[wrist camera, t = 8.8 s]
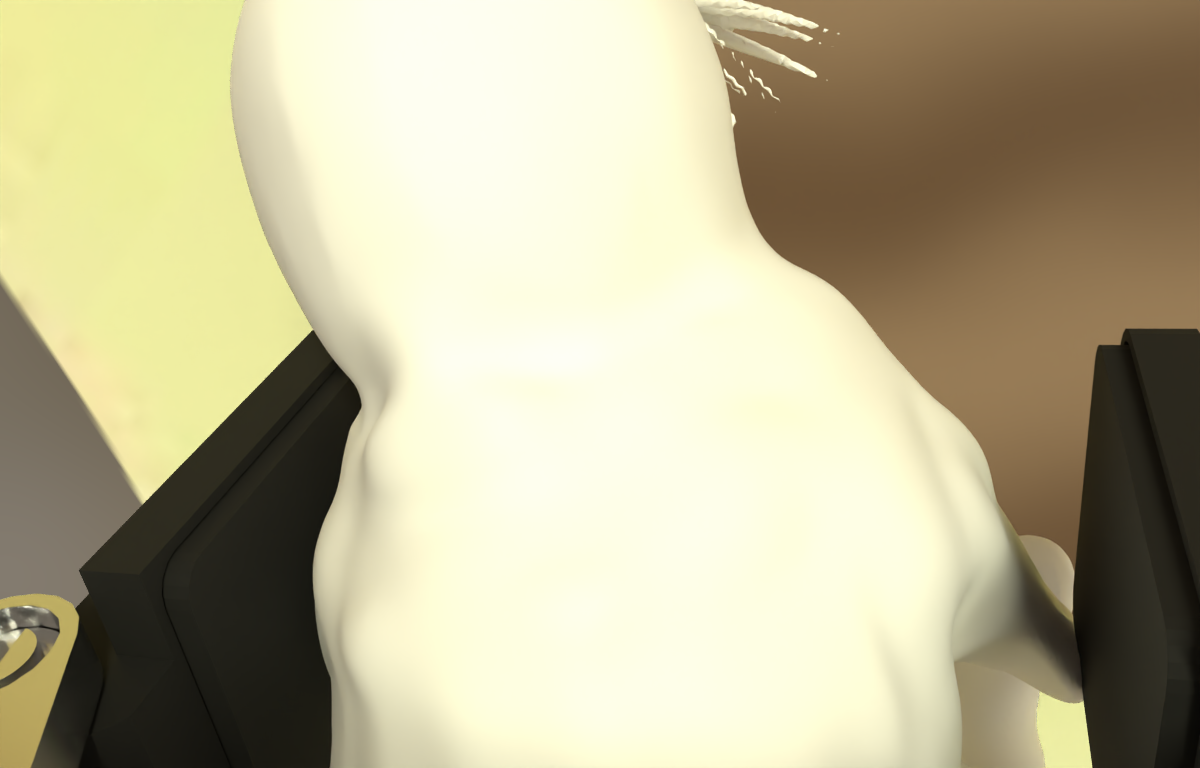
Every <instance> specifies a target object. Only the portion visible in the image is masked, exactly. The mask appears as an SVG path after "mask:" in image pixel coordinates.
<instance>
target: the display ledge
mask: <svg viewBox="0 0 1200 768" xmlns="http://www.w3.org/2000/svg"><path fill="white" fill-rule="evenodd" d="M743 1H748V2H752V3H754V4H759V5H762V6H764V7H770V8H772V9H774V10H779V11H782V12H785V13H788V14H792V15H793V16H795V17H798V18H803V19H805V20H808V21H811V22H813V23H815V24H817V25H818V27H817V28H814V29H810V28H807V27H805V26H801V27H798V26H795V25H793V24H783V23H781V22H772V23H776V24H778V25H780V26H784V27H787V28H789V29H790V30H793V31H797V32H799V33H802V34H805V35H807V36H809V37H811V38H813V39H812V40H810V41H808V42H806V41H804V40H802V39H801V38H797V39H793V38H790V37H788V36H784V37H783V36H779V35H777V34H768V33H766V32H757V31H749V30H740V29H734V30H733V31H732V32H734V33H736V34H738V35H741V36H743V37H745V38H748V39H750V40H752V41H755V42H757V43H759V44H760V45H762V46H765V47H768V48H770V49H772V50H774V51H775V52H777V53H780V54H782V55H785V56H786V57H788V58H789V59H791V61H794V62H797V63H799V64H801V65H803V66H804V67H806V68H808V69H810V70H811V71H814V72H815V74H816V75H817V77H815V78H814V77H811V76H808V75H806V74H804V73H802V72H797V71H793V70H791V69H788V68H786V67H785V66H781V65H778V64H775V63H771V62H768V61H766V60H763V59H760V58H757V57H754V56H751V55H748V54H745V53H742V52H739V51H737V50H733V49H730V48H727V47H725V46H723V48H722V47H721V45H720V44H716V43H713V45H714V47H715V50H716V53H717V55H718V58H719V61H720V64H721V67H722V71H723V74H724V78H725V80H726V81H728V82H730V83H731V84H732V87H733V88H734V89H737V90H739V91H740V94H739V93H738V92H737V91H735V90H734V89H732V87H731V85H730V84H729V83H727V82H726V86H727V91H728V96H729V102H730V109H731V113H732V114H734V116H735V120H736V123H735V124H734V126H733V134H734V142H735V149H736V157H737V163H738V168H739V173H740V178H741V183H742V187H743V192H744V195H745V199H746V202H747V206H748V208H749V211H750V213H751V216H752V218H753V220H754V222H755V224H756V226H757V228H758V230H759V232H760V234H761V235H762V237H763V238H764V239H765V241H766V242H767V243H768V244H769V246H770V247H771V248H772V249H773V250H774V251H775V252H776V253H778V254H779V255H780V256H781V257H782V258H784V259H785V260H787V261H788V262H790V263H792V264H794V265H796V266H798V267H800V268H802V269H804V270H806V271H808V272H810V273H812V274H814V275H816V276H818V277H819V278H821V279H823V280H824V281H826V282H827V283H829V284H830V285H831V286H833V287H834V288H835V289H837V290H838V291H839V292H840V293H841V294H842V295H843V296H844V297H845V298H846V299H847V300H848V301H849V302H850V303H851V304H852V305H853V306H854V307H855V308H856V309H857V310H858V312H859V313H860V314H861V315H862V316H863V317H864V319H865V320H866V321H867V323H868V324H869V325H870V326H871V328H872V329H873V330H874V332H875V333H876V334H877V336H878V337H879V338H880V340H881V341H882V342H883V343H884V345H885V346H886V347H887V348H888V349H889V351H890V352H891V353H892V354H893V355H894V356H895V357H896V359H897V360H898V361H899V362H900V363H901V364H902V365H903V366H904V367H905V369H906V370H907V371H908V372H909V373H910V374H911V375H912V376H913V377H914V379H915V380H916V381H917V382H918V383H919V384H920V385H921V386H922V387H923V388H924V389H925V390H926V391H927V392H928V393H929V394H930V395H931V396H932V397H933V398H934V399H936V400H937V401H938V402H939V403H940V404H942V405H943V406H944V407H945V408H947V409H948V410H949V411H950V412H951V413H952V414H954V415H955V416H956V417H957V418H958V419H959V420H960V421H961V422H962V423H963V424H964V425H965V426H966V428H967V429H968V430H969V431H970V432H971V434H972V435H973V436H974V438H975V439H976V441H977V442H978V444H979V445H980V447H981V449H982V451H983V453H984V455H985V458H986V460H987V463H988V466H989V470H990V474H991V478H992V482H993V487H994V492H995V496H996V500H997V503H998V504H999V506H1000V507H1001V509H1002V510H1003V512H1004V513H1005V515H1006V516H1007V518H1008V520H1009V521H1010V523H1011V524H1012V526H1013V528H1014V529H1015V531H1016V533H1017V535H1018V536H1022V535H1034V536H1039V537H1043V538H1046V539H1048V540H1051V541H1052V542H1054V543H1056V544H1057V545H1058V546H1060V547H1061V548H1062V549H1063V551H1064V552H1065V553H1066V554H1067V556H1068V557H1069V559H1070V561H1071V563H1072V566H1073V569H1074V573H1075V563H1076V552H1077V542H1078V531H1079V521H1080V511H1081V500H1082V490H1083V479H1084V469H1085V459H1086V448H1087V438H1088V427H1089V417H1090V406H1091V396H1092V386H1093V375H1094V365H1095V357H1096V351H1097V347H1098V345H1121V339H1122V335H1123V332H1124V330H1125V329H1198V331H1199V332H1200V0H743ZM767 21H768V20H767ZM769 22H771V21H769ZM824 29H828V31H827V32H826V33H825V32H823V30H824ZM837 33H840V34H839V35H838V34H837ZM819 42H821V44H819ZM732 52H734V58H735V59H734V58H733V55H732ZM741 61H742V62H743V66H744V68H743V66H742V64H741ZM724 69H725V70H726V72H727V73H728V75H730V76H732V77H734V78H735V80H736V82H737V84H739V85H740V86H742V87H743V88H744V90H745V92H746V96H745V95H744V93H743V91H742V89H741V88H738V87H736V86H735V85H734V83H733V81H732V80H731V79H729V78H727V77H726V75H725V73H724ZM750 69H751V70H752V72H753V76H754V78H760V79H761V80H762V83H763V87H768V88H770V89H771V91H772V96H774V97H776V98H778V99H779V100H780V101H779V100H778V99H776V98H774V97H772V96H771V94H770V93H769V92H768V91H767V90H766V89H765V88H763V87H762V86H761V84H760V83H759V82H758V81H757V80H756V79H754V78H753V77H752V75H751V74H750ZM749 77H750V78H751V80H752V82H750V80H749ZM762 93H763V95H764V98H763V96H762ZM1072 615H1073V610H1072Z"/></svg>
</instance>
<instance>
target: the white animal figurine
mask: <svg viewBox="0 0 1200 768" xmlns="http://www.w3.org/2000/svg"><path fill="white" fill-rule="evenodd" d="M767 20H768V21H767ZM769 21H771V22H769ZM772 22H781V23H783V24H793V25H795V26H798V27H801V26H805V27H807V28H810V29H814V28H817V27H818V25H817V24H815V23H813V22H811V21H808V20H805V19H803V18H798V17H795V16H793V15H792V14H788V13H785V12H782V11H779V10H774V9H772V8H770V7H764V6H762V5H759V4H754V3H752V2H748V1H743V0H245V1H244V4H243V7H242V10H241V14H240V17H239V21H238V26H237V30H236V35H235V41H234V47H233V54H232V63H231V77H230V94H231V107H232V115H233V122H234V129H235V134H236V139H237V144H238V149H239V153H240V157H241V162H242V166H243V169H244V173H245V176H246V180H247V183H248V187H249V190H250V193H251V196H252V200H253V203H254V206H255V209H256V212H257V215H258V218H259V221H260V223H261V226H262V229H263V231H264V234H265V236H266V239H267V241H268V243H269V246H270V248H271V250H272V252H273V255H274V257H275V259H276V261H277V263H278V265H279V267H280V270H281V272H282V274H283V276H284V278H285V279H286V281H287V283H288V285H289V287H290V289H291V290H292V292H293V294H294V296H295V298H296V300H297V302H298V304H299V305H300V307H301V309H302V311H303V313H304V314H305V316H306V318H307V320H308V321H309V323H310V325H311V326H312V328H313V330H314V331H315V333H316V335H317V336H318V338H319V339H320V341H321V342H322V344H323V346H324V347H325V348H326V350H327V351H328V353H329V354H330V356H331V357H332V358H333V360H334V361H335V362H336V363H337V364H338V366H339V367H340V368H341V369H342V370H343V371H344V372H345V374H346V375H347V376H348V377H349V378H350V379H351V381H352V382H353V383H354V385H355V386H356V388H357V390H358V392H359V395H360V398H361V403H362V407H361V410H360V412H359V414H358V415H357V417H356V419H355V420H354V422H353V424H352V426H351V428H350V431H349V434H348V438H347V442H346V446H345V451H344V456H343V461H342V467H341V474H340V479H339V483H338V487H337V491H336V494H335V497H334V499H333V502H332V504H331V506H330V509H329V511H328V513H327V515H326V517H325V520H324V522H323V525H322V528H321V531H320V534H319V537H318V540H317V544H316V548H315V553H314V561H313V592H314V600H315V615H316V623H317V630H318V636H319V641H320V646H321V650H322V654H323V658H324V661H325V664H326V667H327V670H328V672H329V675H330V677H331V690H332V747H331V762H330V768H1046V767H1045V758H1044V754H1043V750H1042V747H1041V744H1040V740H1039V736H1038V732H1037V707H1038V699H1039V692H1040V691H1041V692H1043V693H1045V694H1047V695H1049V696H1051V697H1053V698H1055V699H1058V700H1060V701H1063V702H1067V703H1080V702H1082V701H1084V699H1083V692H1082V673H1081V665H1080V655H1079V653H1078V648H1077V641H1076V636H1075V632H1074V623H1073V615H1072V610H1073V584H1074V569H1073V566H1072V563H1071V561H1070V559H1069V557H1068V556H1067V554H1066V553H1065V552H1064V551H1063V549H1062V548H1061V547H1060V546H1058V545H1057V544H1056V543H1054V542H1052V541H1051V540H1048V539H1046V538H1043V537H1039V536H1034V535H1022V536H1018V535H1017V533H1016V531H1015V529H1014V528H1013V526H1012V524H1011V523H1010V521H1009V520H1008V518H1007V516H1006V515H1005V513H1004V512H1003V510H1002V509H1001V507H1000V506H999V504H998V503H997V500H996V496H995V492H994V487H993V482H992V478H991V474H990V470H989V466H988V463H987V460H986V458H985V455H984V453H983V451H982V449H981V447H980V445H979V444H978V442H977V441H976V439H975V438H974V436H973V435H972V434H971V432H970V431H969V430H968V429H967V428H966V426H965V425H964V424H963V423H962V422H961V421H960V420H959V419H958V418H957V417H956V416H955V415H954V414H952V413H951V412H950V411H949V410H948V409H947V408H945V407H944V406H943V405H942V404H940V403H939V402H938V401H937V400H936V399H934V398H933V397H932V396H931V395H930V394H929V393H928V392H927V391H926V390H925V389H924V388H923V387H922V386H921V385H920V384H919V383H918V382H917V381H916V380H915V379H914V377H913V376H912V375H911V374H910V373H909V372H908V371H907V370H906V369H905V367H904V366H903V365H902V364H901V363H900V362H899V361H898V360H897V359H896V357H895V356H894V355H893V354H892V353H891V352H890V351H889V349H888V348H887V347H886V346H885V345H884V343H883V342H882V341H881V340H880V338H879V337H878V336H877V334H876V333H875V332H874V330H873V329H872V328H871V326H870V325H869V324H868V323H867V321H866V320H865V319H864V317H863V316H862V315H861V314H860V313H859V312H858V310H857V309H856V308H855V307H854V306H853V305H852V304H851V303H850V302H849V301H848V300H847V299H846V298H845V297H844V296H843V295H842V294H841V293H840V292H839V291H838V290H837V289H835V288H834V287H833V286H831V285H830V284H829V283H827V282H826V281H824V280H823V279H821V278H819V277H818V276H816V275H814V274H812V273H810V272H808V271H806V270H804V269H802V268H800V267H798V266H796V265H794V264H792V263H790V262H788V261H787V260H785V259H784V258H782V257H781V256H780V255H779V254H778V253H776V252H775V251H774V250H773V249H772V248H771V247H770V246H769V244H768V243H767V242H766V241H765V239H764V238H763V237H762V235H761V234H760V232H759V230H758V228H757V226H756V224H755V222H754V220H753V218H752V216H751V213H750V211H749V208H748V206H747V202H746V199H745V195H744V192H743V187H742V183H741V178H740V173H739V168H738V163H737V157H736V149H735V142H734V134H733V126H734V124H735V123H736V120H735V116H734V114H732V113H731V109H730V102H729V96H728V91H727V86H726V82H727V83H729V84H730V85H731V87H732V84H731V83H730V82H728V81H726V80H725V78H724V74H723V71H722V67H721V64H720V61H719V58H718V55H717V53H716V50H715V47H714V45H713V43H716V44H720V45H721V47H722V48H723V46H725V47H727V48H730V49H733V50H737V51H739V52H742V53H745V54H748V55H751V56H754V57H757V58H760V59H763V60H766V61H768V62H771V63H775V64H778V65H781V66H785V67H786V68H788V69H791V70H793V71H797V72H802V73H804V74H806V75H808V76H811V77H814V78H815V77H817V75H816V74H815V72H814V71H811V70H810V69H808V68H806V67H804V66H803V65H801V64H799V63H797V62H794V61H791V59H789V58H788V57H786V56H785V55H782V54H780V53H777V52H775V51H774V50H772V49H770V48H768V47H765V46H762V45H760V44H759V43H757V42H755V41H752V40H750V39H748V38H745V37H743V36H741V35H738V34H736V33H734V32H732V31H733V30H734V29H740V30H749V31H757V32H766V33H768V34H777V35H779V36H783V37H784V36H788V37H790V38H793V39H797V38H801V39H802V40H804V41H806V42H808V41H810V40H812V39H813V38H811V37H809V36H807V35H805V34H802V33H799V32H797V31H793V30H790V29H789V28H787V27H784V26H780V25H778V24H776V23H772ZM827 31H828V29H824V30H823V32H825V33H826V32H827ZM837 34H838V35H839V34H840V33H837ZM819 44H821V42H819ZM732 55H733V58H734V52H732ZM734 59H735V58H734ZM741 64H742V66H743V62H742V61H741ZM743 68H744V66H743ZM724 73H725V75H726V77H727V78H729V79H731V80H732V81H733V83H734V85H735V86H736V87H738V88H741V89H742V91H743V93H744V95H745V96H746V92H745V90H744V88H743V87H742V86H740V85H739V84H737V82H736V80H735V78H734V77H732V76H730V75H728V73H727V72H726V70H725V69H724ZM750 74H751V75H752V77H753V78H754V76H753V72H752V70H751V69H750ZM754 79H756V80H757V81H758V82H759V83H760V84H761V86H762V87H763V83H762V80H761V79H760V78H754ZM749 80H750V82H752V80H751V78H750V77H749ZM763 88H765V89H766V90H767V91H768V92H769V93H770V94H771V96H772V91H771V89H770V88H768V87H763ZM732 89H734V88H733V87H732ZM734 90H735V91H737V92H738V93H739V94H740V91H739V90H737V89H734ZM762 96H763V98H764V95H763V93H762ZM772 97H774V96H772ZM774 98H776V97H774ZM776 99H778V98H776ZM778 100H779V99H778ZM779 101H780V100H779Z"/></svg>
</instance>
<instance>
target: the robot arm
mask: <svg viewBox="0 0 1200 768" xmlns="http://www.w3.org/2000/svg"><path fill="white" fill-rule="evenodd" d="M361 407H362V403H361V398H360V395H359V392H358V390H357V388H356V386H355V385H354V383H353V382H352V381H351V379H350V378H349V377H348V376H347V375H346V374H345V372H344V371H343V370H342V369H341V368H340V367H339V366H338V364H337V363H336V362H335V361H334V360H333V358H332V357H331V356H330V354H329V353H328V351H327V350H326V348H325V347H324V346H323V344H322V342H321V341H320V339H319V338H318V336H317V335H316V333H315V331H314V330H313V331H311V332H310V333H309V334H308V336H307V337H306V338H305V339H304V340H303V341H302V342H301V343H300V344H299V345H298V346H297V347H296V348H295V349H294V350H293V351H292V352H291V353H290V354H289V355H288V356H287V357H286V358H285V359H284V360H283V361H282V362H281V363H280V364H279V365H278V366H277V367H276V368H275V369H274V370H273V371H272V372H271V373H270V375H269V376H268V377H267V378H266V379H265V380H264V381H263V382H262V383H261V384H260V385H259V386H258V387H257V388H256V389H255V390H254V391H253V392H252V393H251V394H250V395H249V396H248V397H247V398H246V399H245V400H244V401H243V402H242V403H241V404H240V405H239V406H238V407H237V408H236V409H235V410H234V411H233V413H232V414H231V415H230V416H229V417H228V418H227V419H226V420H225V421H224V422H223V423H222V424H221V425H220V426H219V427H218V428H217V429H216V430H215V431H214V432H213V433H212V434H211V435H210V436H209V437H208V438H207V439H206V440H205V441H204V442H203V443H202V444H201V445H200V446H199V447H198V448H197V449H196V451H195V452H194V453H193V454H192V455H191V456H190V457H189V458H188V459H187V460H186V461H185V462H184V463H183V464H182V465H181V466H180V467H179V468H178V469H177V470H176V471H175V472H174V473H173V474H172V475H171V476H170V477H169V478H168V479H167V480H166V481H165V482H164V483H163V484H162V485H161V486H160V487H159V488H158V490H157V491H156V492H155V493H154V494H153V495H152V496H151V497H150V498H149V499H148V500H147V501H146V502H145V503H144V504H143V505H142V506H141V507H140V508H139V509H138V510H137V511H136V512H135V513H134V514H133V515H132V516H131V517H130V518H129V519H128V521H126V522H125V524H123V525H122V527H121V528H120V529H119V530H118V531H117V532H116V533H115V534H114V535H113V536H112V537H111V538H110V539H109V540H108V541H107V542H106V543H105V544H104V545H103V546H102V547H101V548H100V549H99V550H98V551H97V552H96V553H95V554H94V555H93V556H92V557H91V558H90V560H88V562H86V563H85V565H84V566H83V567H82V568H81V569H80V570H79V572H80V574H81V576H82V578H83V581H84V583H85V585H86V587H87V589H88V592H89V595H88V596H87V597H86V598H85V599H84V600H83V601H82V602H81V603H80V604H79V605H78V606H77V607H76V608H74V607H73V604H71V603H70V602H68V601H66V600H64V599H62V598H60V597H58V596H53V595H44V594H30V595H21V596H12V597H9V598H6V599H2V600H0V768H330V762H331V747H332V690H331V677H330V675H329V672H328V670H327V667H326V664H325V661H324V658H323V654H322V650H321V646H320V641H319V636H318V630H317V623H316V615H315V600H314V592H313V561H314V553H315V548H316V544H317V540H318V537H319V534H320V531H321V528H322V525H323V522H324V520H325V517H326V515H327V513H328V511H329V509H330V506H331V504H332V502H333V499H334V497H335V494H336V491H337V487H338V483H339V479H340V474H341V467H342V461H343V456H344V451H345V446H346V442H347V438H348V434H349V431H350V428H351V426H352V424H353V422H354V420H355V419H356V417H357V415H358V414H359V412H360V410H361ZM1073 623H1074V632H1075V636H1076V641H1077V648H1078V653H1079V655H1080V665H1081V673H1082V692H1083V699H1084V707H1085V714H1086V722H1087V729H1088V737H1089V744H1090V752H1091V759H1092V767H1093V768H1200V332H1199V331H1198V329H1125V330H1124V332H1123V335H1122V339H1121V345H1098V347H1097V351H1096V357H1095V365H1094V375H1093V386H1092V396H1091V406H1090V417H1089V427H1088V438H1087V448H1086V459H1085V469H1084V479H1083V490H1082V500H1081V511H1080V521H1079V531H1078V542H1077V552H1076V563H1075V573H1074V584H1073Z"/></svg>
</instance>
